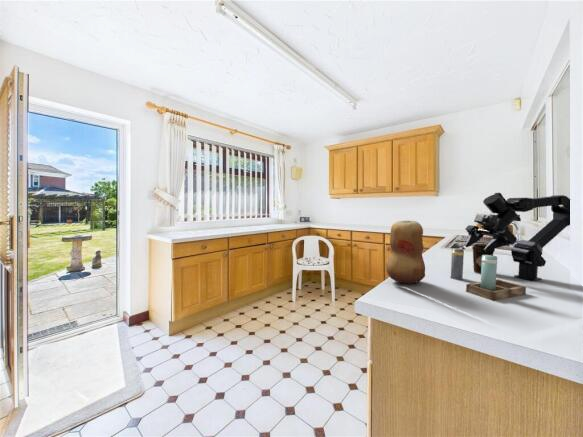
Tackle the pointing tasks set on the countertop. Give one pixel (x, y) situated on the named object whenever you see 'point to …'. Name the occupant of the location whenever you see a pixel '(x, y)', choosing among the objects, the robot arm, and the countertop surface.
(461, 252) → the plug charcoal
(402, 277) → the butternut squash
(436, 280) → the countertop surface
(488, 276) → the plug teal
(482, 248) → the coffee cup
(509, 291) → the slot rack
